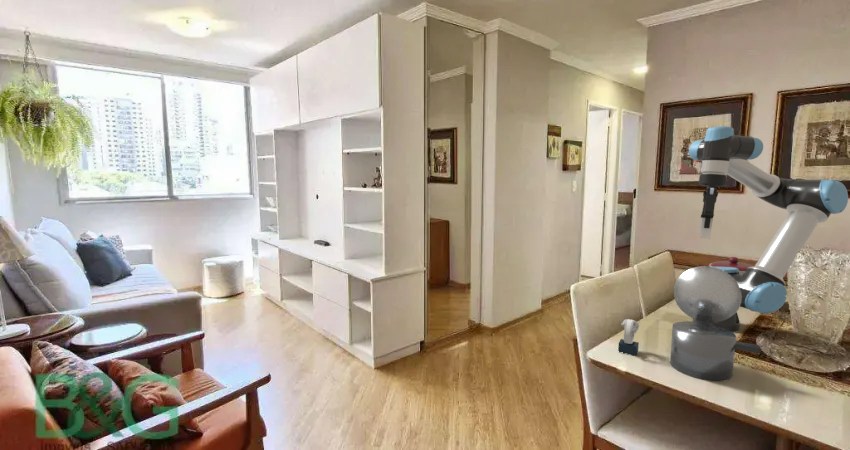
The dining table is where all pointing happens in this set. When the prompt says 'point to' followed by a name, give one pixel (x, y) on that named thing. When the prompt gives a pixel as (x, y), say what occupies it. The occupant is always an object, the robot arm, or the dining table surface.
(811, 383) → the dining table surface
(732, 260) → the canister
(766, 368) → the dining table surface
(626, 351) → the watch
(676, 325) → the cooker pot
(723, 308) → the lid
